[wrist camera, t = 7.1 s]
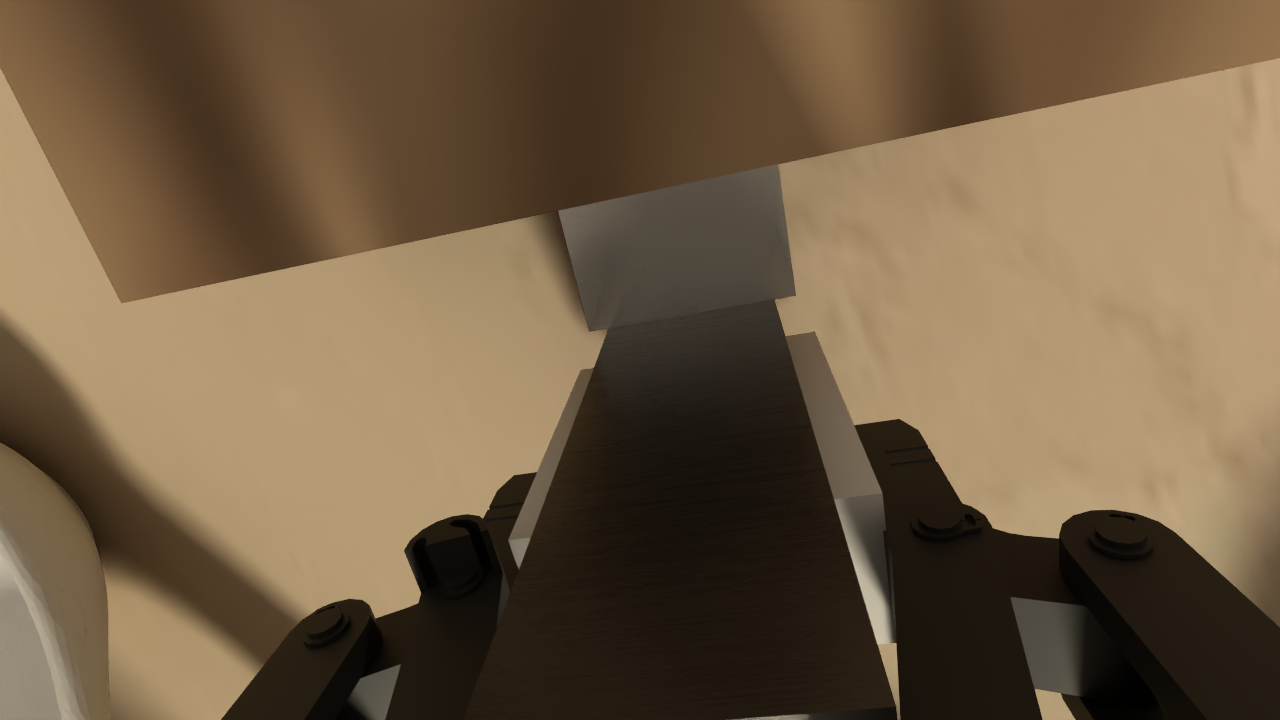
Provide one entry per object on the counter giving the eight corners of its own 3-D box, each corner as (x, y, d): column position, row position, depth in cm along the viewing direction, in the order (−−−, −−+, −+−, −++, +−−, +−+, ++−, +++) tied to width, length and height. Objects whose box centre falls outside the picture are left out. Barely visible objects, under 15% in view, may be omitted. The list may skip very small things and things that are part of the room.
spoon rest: (-207, 517, 25) (-543, 680, 18) (-121, 278, 20) (-514, 375, 14) (350, 843, 29) (245, 1071, 22) (512, 700, 25) (442, 926, 18)
